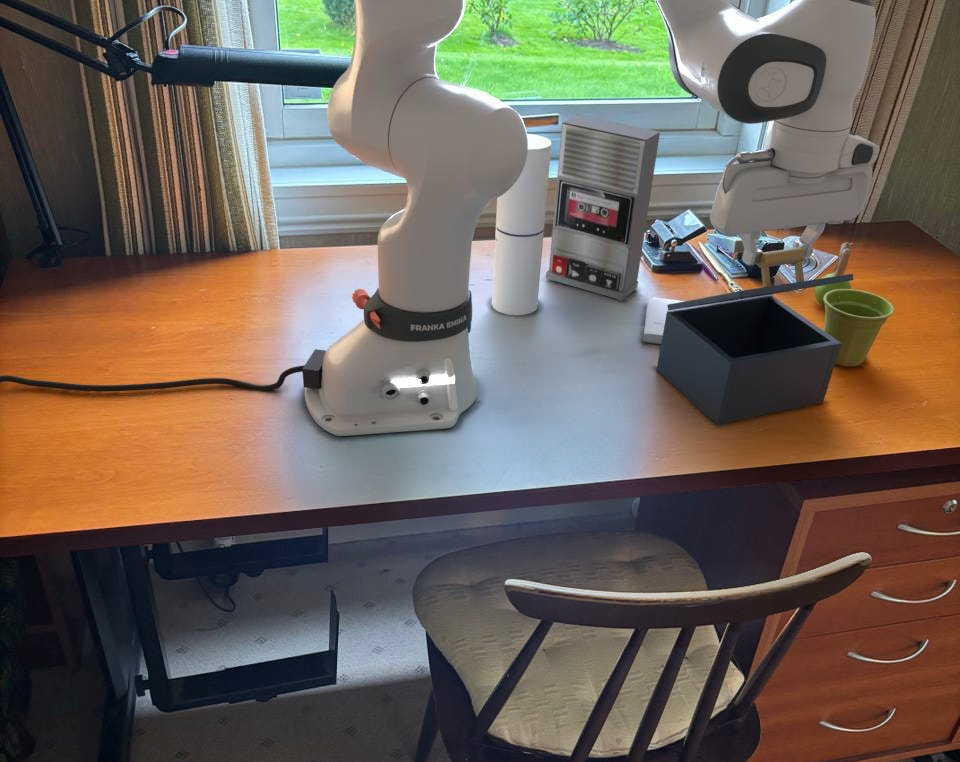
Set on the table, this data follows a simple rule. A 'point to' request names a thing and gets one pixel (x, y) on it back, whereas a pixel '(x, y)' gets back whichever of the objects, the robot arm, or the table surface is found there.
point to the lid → (767, 261)
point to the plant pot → (854, 322)
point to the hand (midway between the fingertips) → (775, 259)
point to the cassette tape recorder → (601, 205)
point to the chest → (746, 358)
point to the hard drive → (656, 319)
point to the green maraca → (836, 274)
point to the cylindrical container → (521, 234)
